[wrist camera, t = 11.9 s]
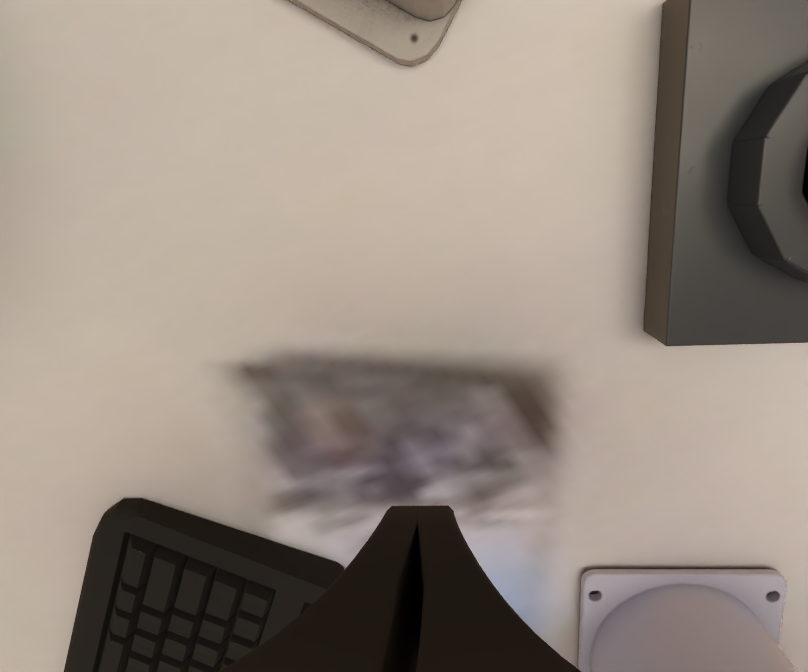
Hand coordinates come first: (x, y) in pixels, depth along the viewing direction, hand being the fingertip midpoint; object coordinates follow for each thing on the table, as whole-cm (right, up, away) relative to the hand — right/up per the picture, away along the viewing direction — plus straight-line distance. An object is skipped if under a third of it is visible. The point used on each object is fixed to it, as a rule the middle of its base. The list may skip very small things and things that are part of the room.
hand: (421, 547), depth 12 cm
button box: (+13, +10, +7) cm, 18 cm away
